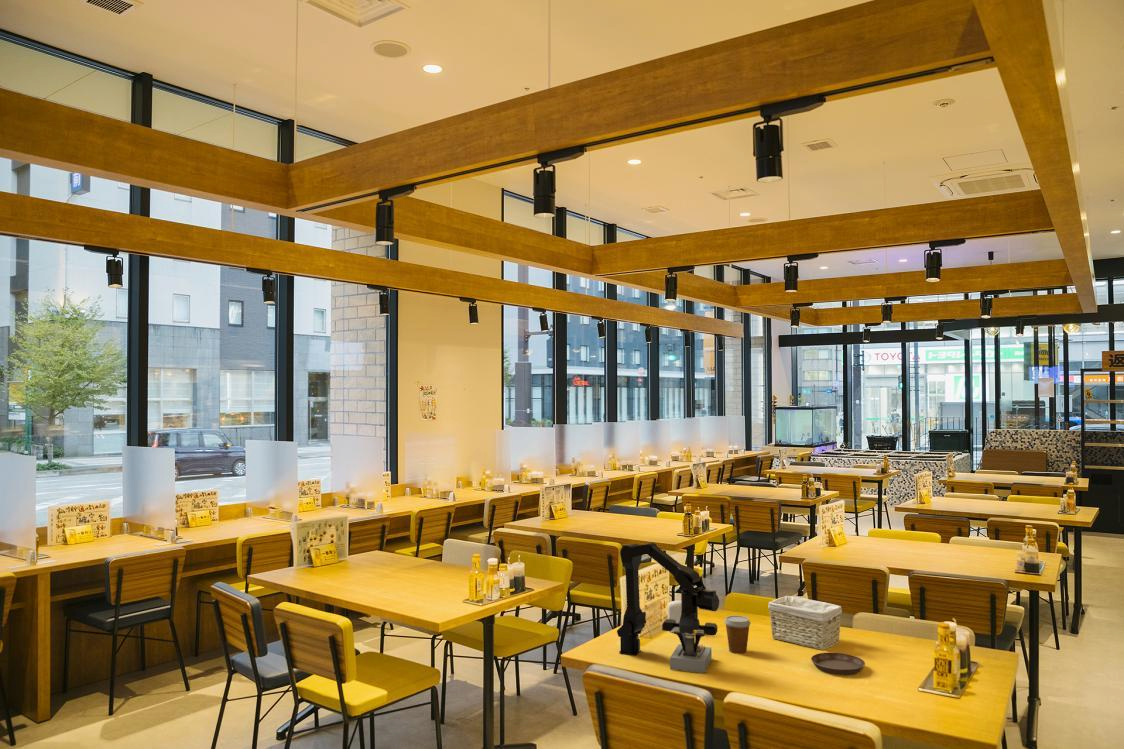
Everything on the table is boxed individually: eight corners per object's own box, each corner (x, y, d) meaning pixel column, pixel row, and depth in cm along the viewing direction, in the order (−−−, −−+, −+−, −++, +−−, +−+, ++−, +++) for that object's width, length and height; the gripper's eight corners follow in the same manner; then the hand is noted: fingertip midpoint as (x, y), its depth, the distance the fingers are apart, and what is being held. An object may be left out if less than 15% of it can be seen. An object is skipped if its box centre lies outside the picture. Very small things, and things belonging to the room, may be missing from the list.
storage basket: (844, 643, 289) (843, 604, 290) (825, 653, 278) (824, 612, 279) (787, 631, 306) (786, 594, 307) (767, 639, 295) (766, 601, 296)
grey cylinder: (686, 658, 266) (685, 632, 267) (695, 659, 265) (695, 633, 265) (684, 661, 263) (684, 635, 263) (694, 662, 262) (693, 636, 262)
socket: (670, 669, 260) (669, 655, 261) (678, 655, 275) (678, 642, 276) (704, 673, 256) (704, 659, 257) (711, 658, 271) (711, 645, 272)
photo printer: (668, 632, 304) (668, 601, 305) (667, 629, 308) (667, 599, 309) (694, 633, 304) (693, 602, 304) (692, 630, 308) (692, 599, 309)
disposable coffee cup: (751, 656, 274) (751, 622, 275) (725, 654, 276) (724, 621, 277) (750, 648, 284) (749, 616, 284) (724, 646, 286) (724, 614, 286)
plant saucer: (831, 680, 250) (831, 670, 250) (801, 663, 267) (800, 654, 267) (876, 674, 255) (876, 665, 255) (843, 658, 272) (843, 650, 272)
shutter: (683, 649, 268) (683, 644, 268) (686, 644, 274) (686, 640, 274) (700, 651, 266) (700, 646, 266) (702, 646, 272) (702, 641, 272)
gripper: (658, 610, 261) (659, 655, 260) (712, 614, 254) (713, 661, 253) (665, 602, 271) (665, 646, 270) (717, 606, 265) (717, 651, 264)
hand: (689, 651), depth 264 cm, fingers closed on grey cylinder, 3 cm apart
